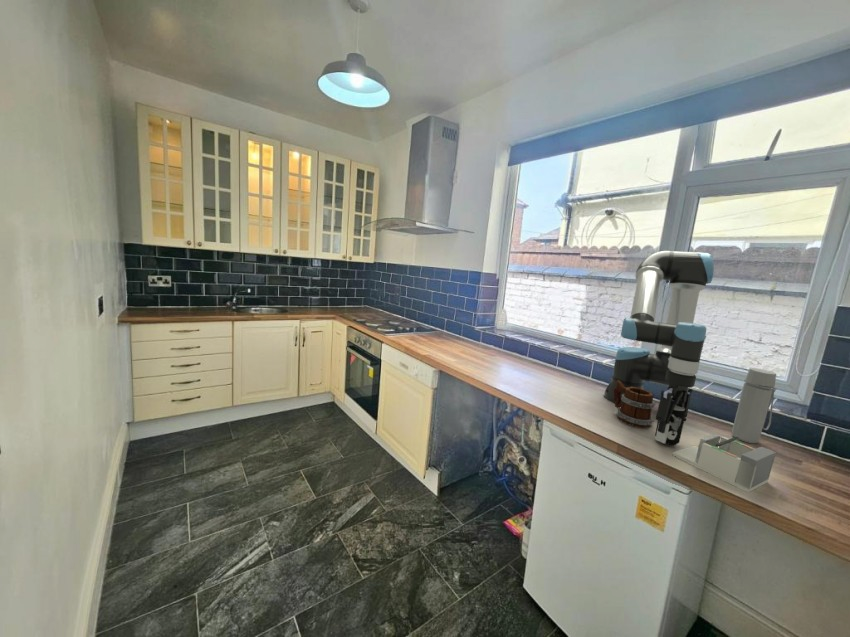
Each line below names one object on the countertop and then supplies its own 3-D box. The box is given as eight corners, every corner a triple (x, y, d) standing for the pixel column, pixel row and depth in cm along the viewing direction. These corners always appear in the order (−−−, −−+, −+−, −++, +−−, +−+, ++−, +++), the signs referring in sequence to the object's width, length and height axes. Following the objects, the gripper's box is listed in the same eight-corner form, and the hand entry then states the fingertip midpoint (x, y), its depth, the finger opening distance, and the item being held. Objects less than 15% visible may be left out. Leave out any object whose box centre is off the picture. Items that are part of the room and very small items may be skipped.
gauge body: (692, 448, 109) (699, 422, 107) (767, 482, 93) (776, 452, 92) (672, 455, 103) (678, 427, 102) (748, 492, 88) (756, 460, 86)
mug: (642, 431, 117) (642, 388, 117) (604, 420, 130) (604, 381, 130) (661, 426, 122) (662, 385, 122) (623, 416, 135) (623, 378, 135)
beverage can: (657, 442, 108) (665, 407, 106) (651, 433, 114) (659, 400, 112) (681, 448, 106) (690, 412, 104) (674, 438, 112) (682, 404, 110)
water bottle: (736, 441, 116) (754, 371, 112) (726, 431, 124) (742, 365, 119) (771, 448, 113) (790, 377, 109) (758, 438, 120) (776, 370, 116)
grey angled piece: (713, 453, 104) (718, 429, 103) (742, 466, 98) (749, 441, 97) (692, 461, 99) (698, 436, 97) (722, 475, 92) (729, 449, 91)
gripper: (684, 365, 114) (670, 429, 118) (651, 370, 105) (637, 438, 109) (711, 373, 108) (695, 440, 111) (677, 378, 99) (662, 450, 102)
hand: (666, 439), depth 110 cm, fingers closed on beverage can, 6 cm apart
